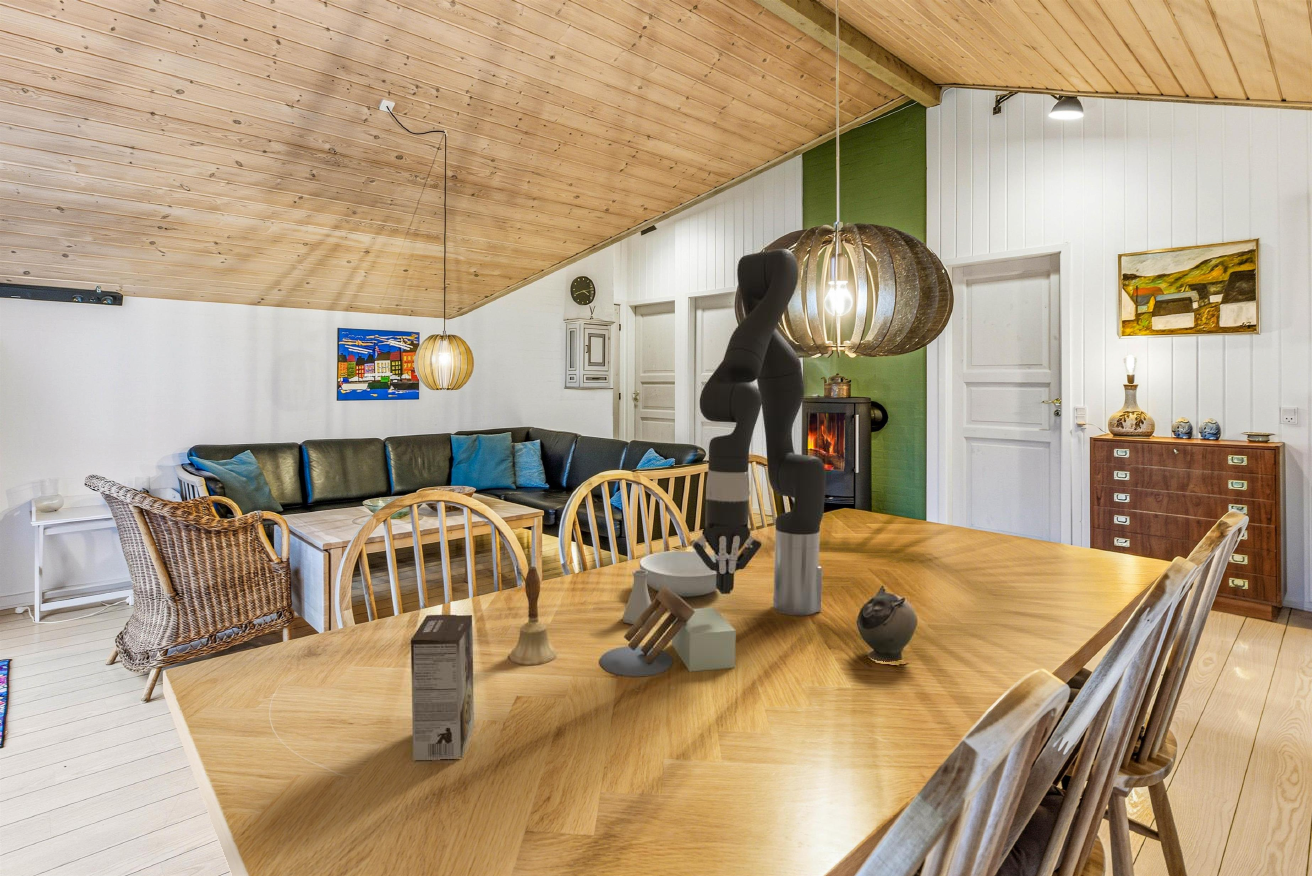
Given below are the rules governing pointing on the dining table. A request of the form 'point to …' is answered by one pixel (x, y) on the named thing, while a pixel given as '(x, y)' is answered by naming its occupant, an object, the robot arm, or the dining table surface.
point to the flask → (637, 598)
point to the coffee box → (442, 687)
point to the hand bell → (533, 630)
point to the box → (706, 641)
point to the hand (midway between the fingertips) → (724, 592)
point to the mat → (634, 662)
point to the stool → (677, 611)
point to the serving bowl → (679, 573)
